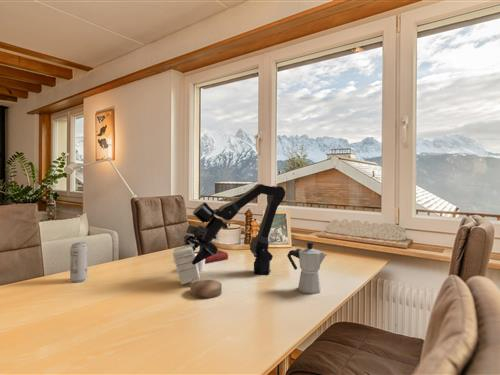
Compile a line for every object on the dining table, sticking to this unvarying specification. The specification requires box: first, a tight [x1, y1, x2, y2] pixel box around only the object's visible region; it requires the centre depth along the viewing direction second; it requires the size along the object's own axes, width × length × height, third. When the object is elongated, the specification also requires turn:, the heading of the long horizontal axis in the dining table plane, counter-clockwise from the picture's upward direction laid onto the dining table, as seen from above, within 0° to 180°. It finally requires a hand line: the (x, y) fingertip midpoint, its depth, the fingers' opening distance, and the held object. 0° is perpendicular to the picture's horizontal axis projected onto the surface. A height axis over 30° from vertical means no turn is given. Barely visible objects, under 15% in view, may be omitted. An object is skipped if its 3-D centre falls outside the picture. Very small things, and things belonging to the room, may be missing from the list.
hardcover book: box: [194, 249, 229, 265], centre depth 159 cm, size 12×21×4 cm, turn 131°
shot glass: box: [195, 253, 206, 273], centre depth 141 cm, size 7×7×7 cm
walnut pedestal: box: [190, 279, 223, 300], centre depth 113 cm, size 11×11×3 cm
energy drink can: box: [69, 241, 88, 283], centre depth 125 cm, size 6×6×15 cm
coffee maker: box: [286, 241, 328, 295], centre depth 117 cm, size 15×9×18 cm, turn 71°
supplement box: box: [172, 244, 201, 285], centre depth 122 cm, size 7×7×13 cm
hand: (186, 261), depth 122 cm, fingers closed on supplement box, 9 cm apart
